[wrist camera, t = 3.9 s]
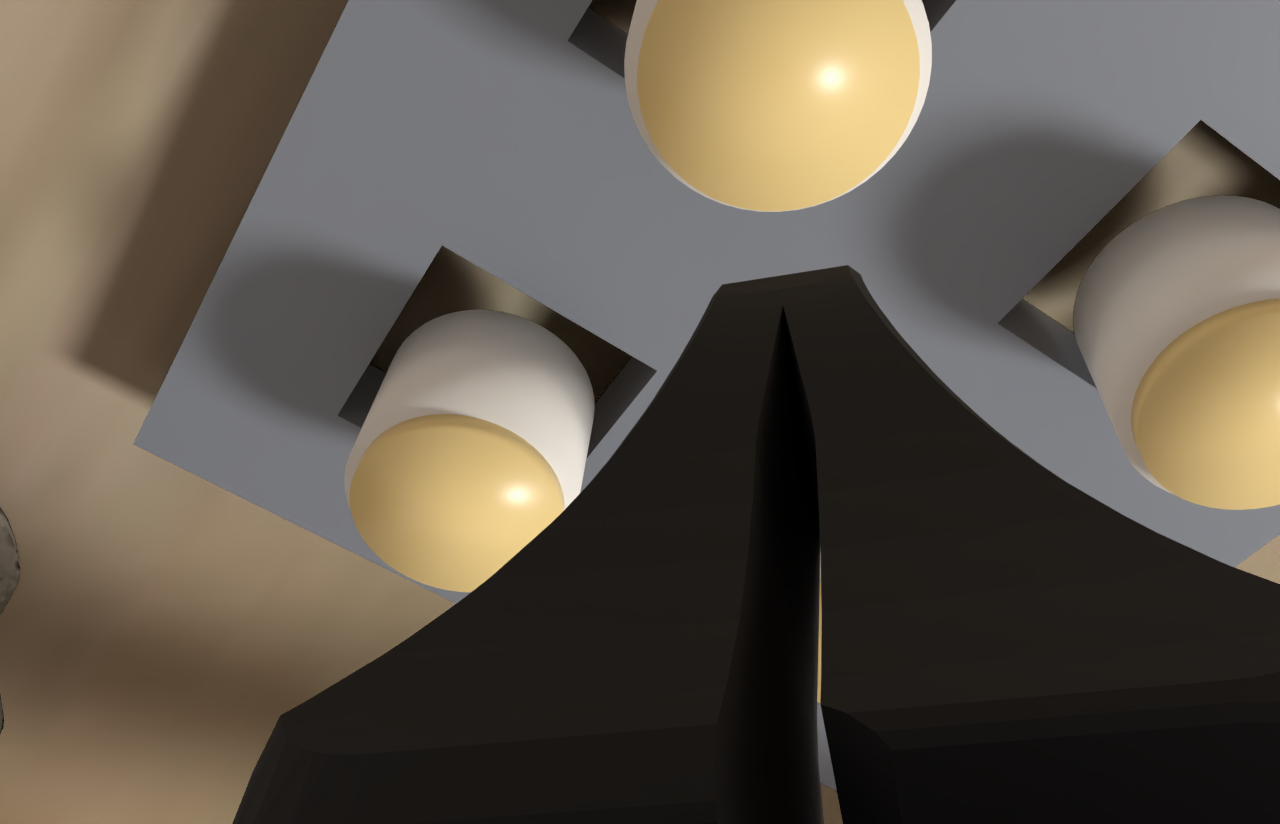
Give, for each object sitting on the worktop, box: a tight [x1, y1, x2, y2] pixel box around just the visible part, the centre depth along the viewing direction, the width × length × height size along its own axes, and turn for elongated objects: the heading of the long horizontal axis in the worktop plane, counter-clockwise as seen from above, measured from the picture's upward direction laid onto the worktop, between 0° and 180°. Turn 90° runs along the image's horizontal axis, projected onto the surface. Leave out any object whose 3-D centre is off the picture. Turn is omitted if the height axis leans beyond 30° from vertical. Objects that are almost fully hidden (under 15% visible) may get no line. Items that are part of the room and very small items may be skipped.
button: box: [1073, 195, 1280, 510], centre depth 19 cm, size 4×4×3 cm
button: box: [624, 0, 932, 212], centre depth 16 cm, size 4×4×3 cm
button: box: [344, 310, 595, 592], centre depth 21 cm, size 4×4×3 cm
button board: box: [134, 0, 1280, 791], centre depth 22 cm, size 20×20×2 cm
